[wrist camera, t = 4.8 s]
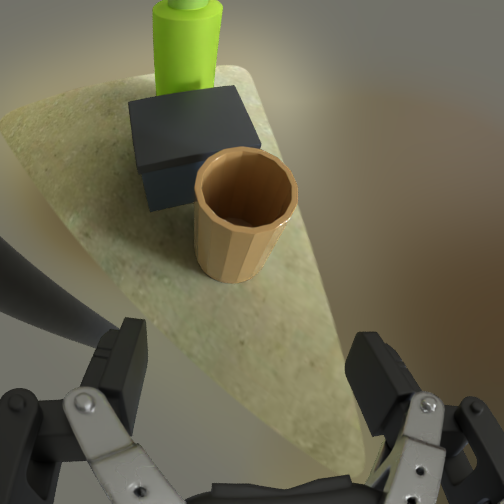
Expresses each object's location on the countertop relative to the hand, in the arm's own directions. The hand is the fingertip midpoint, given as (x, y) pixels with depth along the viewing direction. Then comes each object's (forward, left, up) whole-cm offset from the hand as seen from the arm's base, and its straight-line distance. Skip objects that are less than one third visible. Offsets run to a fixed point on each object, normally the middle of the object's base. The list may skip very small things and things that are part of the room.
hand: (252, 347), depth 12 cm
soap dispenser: (+3, +25, -13) cm, 29 cm away
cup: (+3, +9, -13) cm, 16 cm away
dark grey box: (+2, +17, -13) cm, 22 cm away
